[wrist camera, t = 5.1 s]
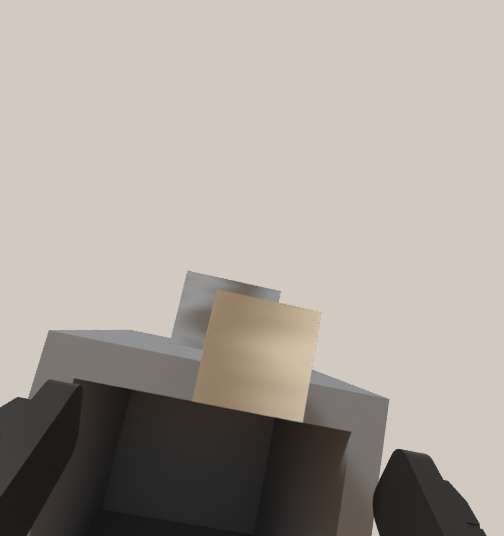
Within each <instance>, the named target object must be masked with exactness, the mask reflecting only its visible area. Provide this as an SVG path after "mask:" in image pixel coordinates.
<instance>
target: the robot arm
mask: <svg viewBox="0 0 504 536" xmlns="http://www.w3.org/2000/svg"><path fill="white" fill-rule="evenodd" d="M82 395H83V387H82V385H78V384H73V383H68V382H63V381H57V380H52V379H49V380H48V381H46V382H45V383H44V385H43V386H42V387H41V388H40V389H39V391H38V392H37V393H36V394H35V395H34V397H33V398H32V399H26V398H20V397H17V398H15V399H14V400H12V401H10V402H8V403H7V404H5V405H3V406H2V407H0V536H27V535H28V533H29V531H30V530H31V528H32V526H33V524H34V522H35V521H36V519H37V517H38V515H39V514H40V512H41V510H42V508H43V506H44V505H45V503H46V501H47V499H48V498H49V496H50V494H51V492H52V490H53V489H54V487H55V485H56V483H57V482H58V480H59V478H60V476H61V474H62V473H63V471H64V469H65V467H66V466H67V464H68V462H69V460H70V458H71V456H72V454H73V451H74V448H75V445H76V442H77V438H78V434H79V425H80V415H81V405H82ZM373 515H374V518H375V522H376V525H377V529H378V532H379V535H380V536H486V534H485V532H484V531H483V529H480V524H479V522H478V520H477V519H476V517H475V515H474V513H473V512H472V510H471V508H470V507H469V505H468V503H467V501H466V500H465V499H464V498H463V497H462V496H461V495H460V494H459V493H458V491H457V490H456V489H455V488H454V487H453V486H452V485H451V484H450V483H449V481H446V480H443V478H442V476H441V475H440V473H439V471H438V469H437V467H436V466H435V464H434V462H433V460H432V459H431V457H430V456H428V455H427V454H422V453H417V452H412V451H407V450H402V449H396V450H395V451H394V452H393V453H392V455H391V457H390V459H389V461H388V463H387V466H386V468H385V470H384V472H383V474H382V476H381V478H380V480H379V482H378V484H377V486H376V488H375V491H374V494H373Z"/></svg>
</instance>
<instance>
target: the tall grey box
mask: <svg viewBox="0 0 504 536" xmlns="http://www.w3.org/2000/svg"><path fill="white" fill-rule="evenodd" d="M170 341H171V338H167V337H162V336H157V335H152V334H147V333H142V332H137V331H133V330H49V332H48V335H47V338H46V342H45V345H44V348H43V352H42V355H41V358H40V361H39V365H38V368H37V371H36V374H35V378H34V381H33V384H32V388H31V391H30V394H29V397H28V399H32V398H33V397H34V395H35V394H36V393H37V392H38V391H39V389H40V388H41V387H42V386H43V385H44V383H45V382H46V381H48V380H49V379H52V380H57V381H63V382H68V383H73V384H78V385H82V387H83V395H82V405H81V415H80V425H79V434H78V438H77V442H76V445H75V448H74V451H73V454H72V456H71V458H70V460H69V462H68V464H67V466H66V467H65V469H64V471H63V473H62V474H61V476H60V478H59V480H58V482H57V483H56V485H55V487H54V489H53V490H52V492H51V494H50V496H49V498H48V499H47V501H46V503H45V505H44V506H43V508H42V510H41V512H40V514H39V515H38V517H37V519H36V521H35V522H34V524H33V526H32V528H31V530H30V531H29V533H28V535H27V536H371V535H372V527H373V519H374V515H373V494H374V491H375V488H376V486H377V484H378V481H379V474H380V466H381V458H382V451H383V443H384V435H385V428H386V420H387V412H388V405H389V399H387V398H385V397H382V396H380V395H377V394H374V393H372V392H369V391H366V390H364V389H361V388H359V387H356V386H353V385H351V384H348V383H345V382H343V381H340V380H338V379H335V378H332V377H330V376H327V375H325V374H322V373H319V372H317V371H314V370H312V371H311V377H310V383H309V389H308V395H307V400H306V406H305V412H304V418H303V423H302V422H296V421H291V420H286V419H281V418H276V417H271V416H265V415H260V414H255V413H250V412H245V411H239V410H234V409H229V408H224V407H219V406H214V405H208V404H203V403H198V402H193V401H192V399H193V394H194V389H195V385H196V380H197V376H198V371H199V367H200V362H201V357H202V353H203V350H202V349H197V348H192V347H187V346H182V345H177V344H172V343H170Z"/></svg>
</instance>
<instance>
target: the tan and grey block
mask: <svg viewBox="0 0 504 536" xmlns="http://www.w3.org/2000/svg"><path fill="white" fill-rule="evenodd" d="M280 293H281V292H280V291H277V290H272V289H268V288H264V287H259V286H254V285H250V284H245V283H241V282H236V281H232V280H227V279H223V278H218V277H214V276H209V275H205V274H200V273H196V272H191V271H187V275H186V279H185V283H184V287H183V291H182V295H181V300H180V304H179V308H178V312H177V316H176V320H175V324H174V328H173V333H172V337H171V341H170V343H172V344H177V345H182V346H187V347H192V348H197V349H202V350H203V353H202V357H201V362H200V367H199V371H198V376H197V380H196V385H195V389H194V394H193V399H192V401H193V402H198V403H203V404H208V405H214V406H219V407H224V408H229V409H234V410H239V411H245V412H250V413H255V414H260V415H265V416H271V417H276V418H281V419H286V420H291V421H296V422H302V423H303V418H304V412H305V406H306V400H307V395H308V389H309V383H310V377H311V371H312V365H313V359H314V353H315V347H316V342H317V335H318V330H319V324H320V318H321V312H319V311H314V310H310V309H305V308H301V307H296V306H291V305H286V304H282V303H279V298H280Z"/></svg>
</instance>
